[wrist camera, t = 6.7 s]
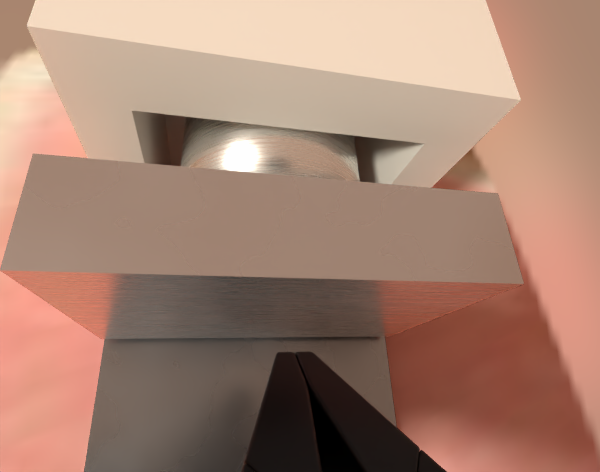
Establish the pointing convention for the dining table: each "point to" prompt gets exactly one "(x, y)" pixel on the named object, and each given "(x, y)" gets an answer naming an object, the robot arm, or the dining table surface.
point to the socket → (280, 75)
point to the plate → (206, 397)
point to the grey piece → (252, 241)
